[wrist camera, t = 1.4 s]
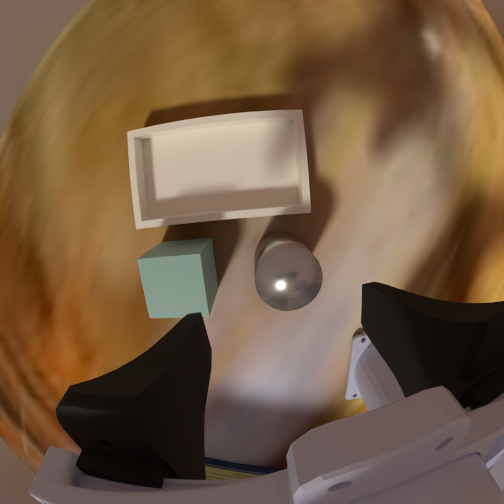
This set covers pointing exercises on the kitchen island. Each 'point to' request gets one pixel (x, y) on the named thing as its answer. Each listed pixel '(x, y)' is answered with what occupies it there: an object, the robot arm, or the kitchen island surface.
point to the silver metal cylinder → (286, 272)
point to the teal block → (179, 278)
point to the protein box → (233, 470)
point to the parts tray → (219, 168)
